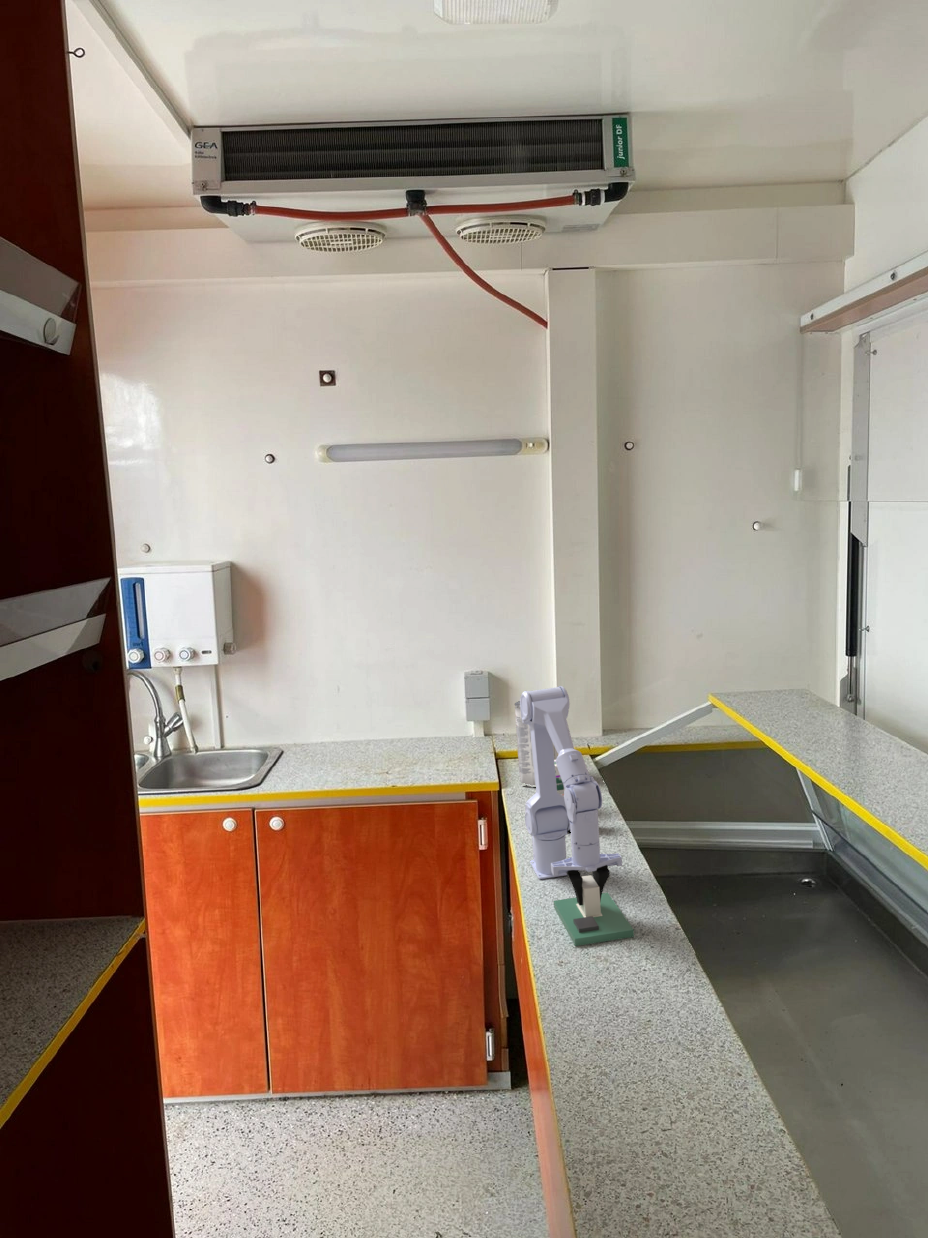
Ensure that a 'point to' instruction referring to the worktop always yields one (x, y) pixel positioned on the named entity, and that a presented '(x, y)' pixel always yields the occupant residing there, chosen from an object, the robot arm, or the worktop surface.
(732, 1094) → the worktop surface
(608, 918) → the circuit board
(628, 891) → the worktop surface
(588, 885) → the block
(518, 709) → the juice carton
